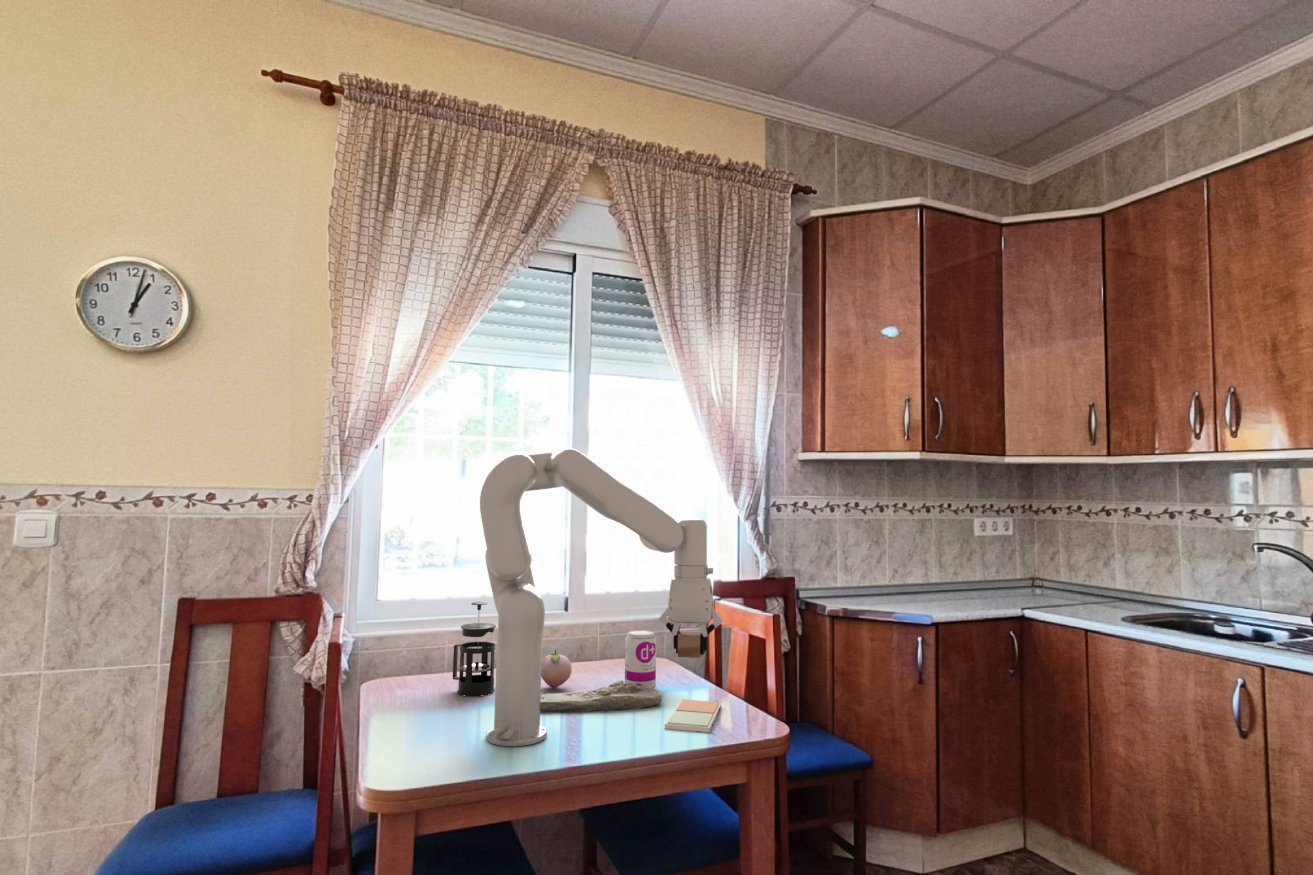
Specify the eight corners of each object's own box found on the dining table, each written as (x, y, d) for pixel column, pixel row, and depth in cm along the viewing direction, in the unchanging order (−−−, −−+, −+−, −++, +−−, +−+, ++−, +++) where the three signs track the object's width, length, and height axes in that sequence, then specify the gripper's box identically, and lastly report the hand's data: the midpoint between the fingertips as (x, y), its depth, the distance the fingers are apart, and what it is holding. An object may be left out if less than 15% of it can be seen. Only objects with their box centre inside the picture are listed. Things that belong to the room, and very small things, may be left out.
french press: (502, 688, 188) (505, 600, 190) (486, 698, 179) (490, 605, 181) (462, 685, 191) (465, 598, 193) (444, 694, 182) (448, 603, 184)
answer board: (709, 732, 155) (709, 726, 155) (664, 728, 157) (664, 722, 158) (721, 707, 175) (721, 701, 175) (681, 703, 177) (681, 698, 177)
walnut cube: (699, 657, 160) (699, 635, 160) (677, 656, 161) (677, 634, 161) (703, 653, 165) (703, 631, 165) (681, 652, 166) (681, 630, 166)
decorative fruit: (575, 691, 187) (576, 652, 187) (544, 694, 184) (545, 654, 184) (566, 682, 195) (567, 645, 196) (536, 685, 192) (537, 647, 193)
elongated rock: (518, 709, 175) (519, 724, 166) (518, 688, 175) (518, 701, 166) (657, 696, 182) (666, 709, 173) (657, 675, 182) (665, 687, 173)
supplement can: (660, 692, 187) (661, 634, 189) (630, 695, 184) (631, 636, 186) (649, 684, 195) (649, 629, 196) (620, 687, 192) (621, 630, 193)
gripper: (729, 571, 166) (729, 651, 164) (658, 569, 170) (657, 647, 168) (725, 575, 159) (725, 658, 157) (651, 573, 162) (650, 654, 161)
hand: (690, 652), depth 163 cm, fingers closed on walnut cube, 5 cm apart
